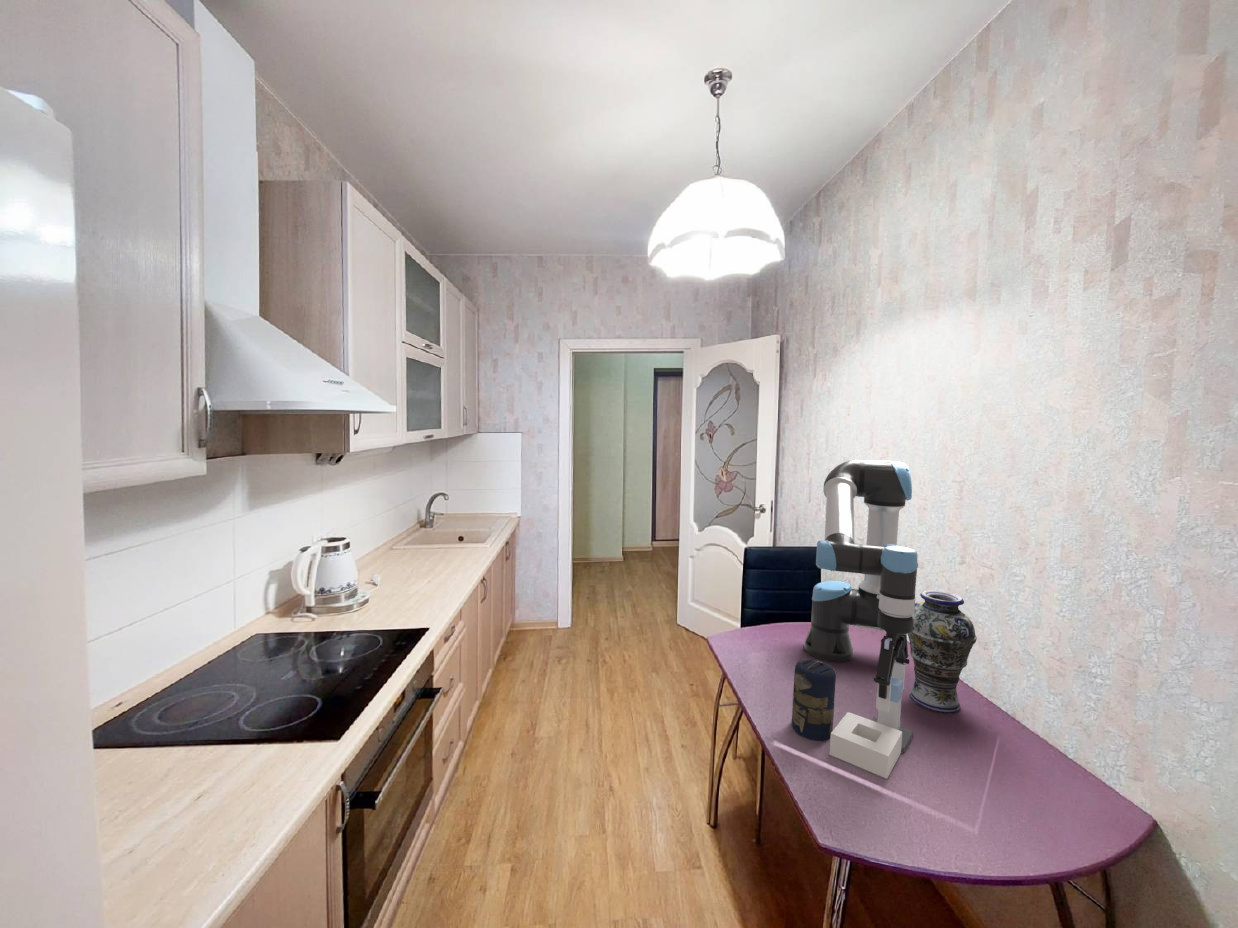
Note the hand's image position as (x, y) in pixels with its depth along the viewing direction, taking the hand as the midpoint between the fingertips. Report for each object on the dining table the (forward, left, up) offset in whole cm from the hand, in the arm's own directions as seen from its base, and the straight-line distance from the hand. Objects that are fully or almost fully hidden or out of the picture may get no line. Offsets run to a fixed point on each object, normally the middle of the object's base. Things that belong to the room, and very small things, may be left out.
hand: (890, 698), depth 126 cm
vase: (-28, +5, -11) cm, 30 cm away
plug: (0, 0, -10) cm, 10 cm away
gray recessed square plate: (0, 0, -10) cm, 10 cm away
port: (+11, -2, -10) cm, 15 cm away
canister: (+10, -15, -11) cm, 21 cm away
